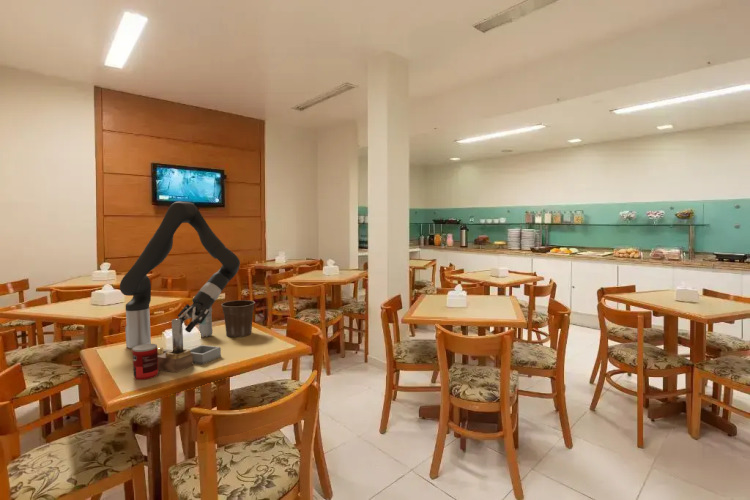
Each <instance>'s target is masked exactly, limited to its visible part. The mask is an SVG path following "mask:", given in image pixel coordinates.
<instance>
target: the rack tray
mask: <svg viewBox="0 0 750 500" xmlns="http://www.w3.org/2000/svg"><path fill="white" fill-rule="evenodd" d="M190 350H191V353H193V364H196V365H197V364H199V365H205V364H207V363H210V362H211V361H214V360H216V359H219V358H220V357H222V352H221V350H222V348H221V346H216V345H215V346H214V345H204V344H201V345H198V346H195V347H192V348H190Z"/></svg>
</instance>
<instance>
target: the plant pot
mask: <svg viewBox="0 0 750 500" xmlns="http://www.w3.org/2000/svg"><path fill="white" fill-rule="evenodd" d="M255 304H256V302H255V301H254V300H248V299H247V300H246V299H237V300H230V301H225V302H223V303H221V304H220V306H221V307H222V313H223V318H224V324H225V326H224V327H225V334H226V337H228V338H243V337H247V336H250V335H251V334H252V331H253V330H252V329H253V317H254V316H253V315H254V310H255Z"/></svg>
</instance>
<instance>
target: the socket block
mask: <svg viewBox="0 0 750 500" xmlns="http://www.w3.org/2000/svg"><path fill="white" fill-rule="evenodd" d="M190 349H191V348H190ZM190 349H188V348H183V352H182V353H179V354H175V353H173V349H165V348H163V354H160V355H158V371H164V372H171V373H176V374H177V373H178V372H182V371H183V370H186V369H188V368H190V367H193V366H194V363H193V353H191V350H190Z"/></svg>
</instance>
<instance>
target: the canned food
mask: <svg viewBox="0 0 750 500" xmlns="http://www.w3.org/2000/svg"><path fill="white" fill-rule="evenodd" d="M157 348H158V345H157V344H156V343H151V344H143V345H138V346H135V347H134V348H133V349H132V365H133V366H132V369H133V377H134V379H135V380H138V381H139V380H140V381H141V380H143V381H144V380H148V379H152V378H155V377H157V376H158V374H159V370H158V352H157Z"/></svg>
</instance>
